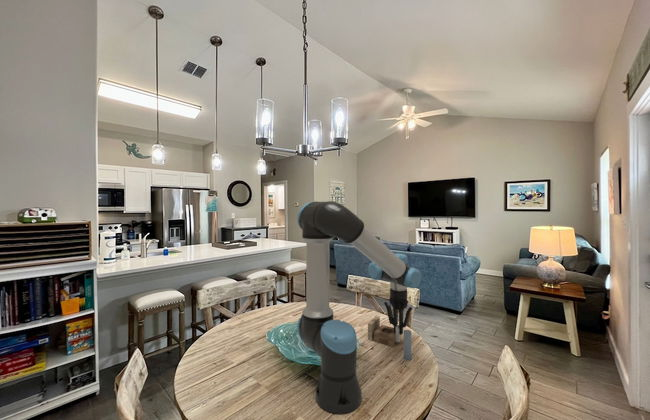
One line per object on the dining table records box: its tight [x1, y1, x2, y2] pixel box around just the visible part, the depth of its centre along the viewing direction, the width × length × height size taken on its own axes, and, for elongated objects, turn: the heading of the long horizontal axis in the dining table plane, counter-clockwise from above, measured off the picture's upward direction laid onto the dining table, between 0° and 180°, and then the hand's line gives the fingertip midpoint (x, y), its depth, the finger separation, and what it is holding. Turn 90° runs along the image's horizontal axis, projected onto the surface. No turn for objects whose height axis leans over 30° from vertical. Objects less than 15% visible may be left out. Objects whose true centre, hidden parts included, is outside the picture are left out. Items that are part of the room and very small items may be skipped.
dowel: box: [403, 329, 412, 361], centre depth 112 cm, size 3×3×12 cm
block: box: [373, 324, 398, 348], centre depth 127 cm, size 9×9×4 cm
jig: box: [367, 316, 381, 342], centre depth 127 cm, size 9×16×9 cm, turn 56°
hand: (398, 340), depth 124 cm, fingers closed
